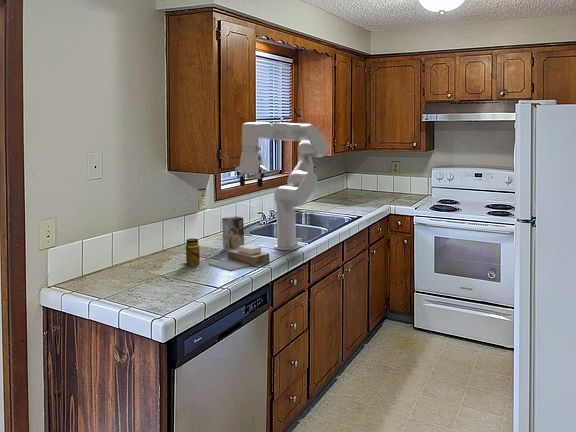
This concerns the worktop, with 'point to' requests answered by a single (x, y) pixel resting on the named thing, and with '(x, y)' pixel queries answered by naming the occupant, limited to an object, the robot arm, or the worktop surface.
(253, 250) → the tile
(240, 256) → the board
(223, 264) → the mat
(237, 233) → the coffee box
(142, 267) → the worktop surface
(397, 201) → the worktop surface
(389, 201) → the worktop surface
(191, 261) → the condiment
